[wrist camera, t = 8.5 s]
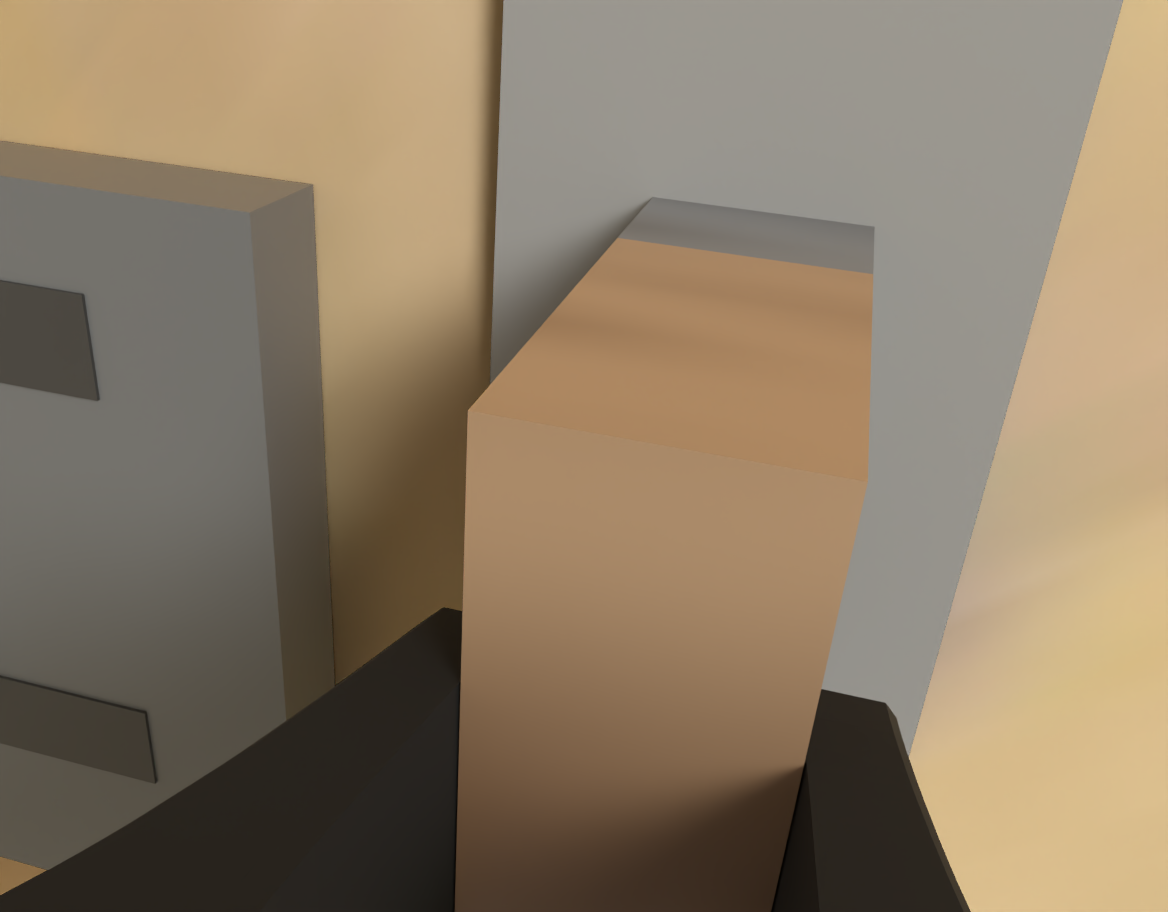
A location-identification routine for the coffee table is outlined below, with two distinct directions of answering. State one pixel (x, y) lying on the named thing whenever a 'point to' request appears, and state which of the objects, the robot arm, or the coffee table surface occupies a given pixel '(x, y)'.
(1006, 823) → the coffee table surface
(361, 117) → the coffee table surface
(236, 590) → the switch board
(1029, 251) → the tool pad
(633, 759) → the bar
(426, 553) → the coffee table surface
